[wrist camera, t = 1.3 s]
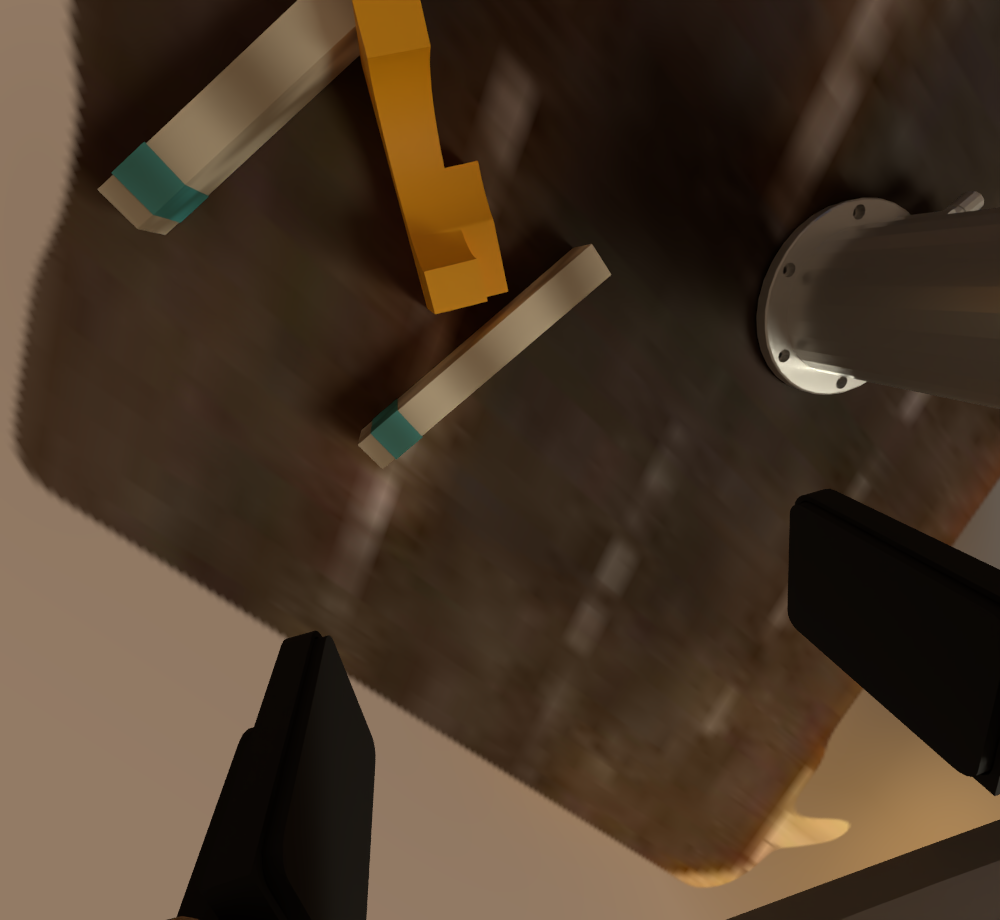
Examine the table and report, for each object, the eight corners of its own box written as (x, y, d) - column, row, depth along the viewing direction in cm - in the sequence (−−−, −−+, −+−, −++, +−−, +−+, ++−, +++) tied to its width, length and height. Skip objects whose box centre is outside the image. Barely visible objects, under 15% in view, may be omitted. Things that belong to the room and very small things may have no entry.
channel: (386, -41, 24) (384, -87, 21) (591, 276, 30) (612, 275, 28) (129, 199, 25) (94, 188, 22) (384, 453, 31) (383, 470, 29)
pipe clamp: (496, 290, 30) (522, 292, 24) (426, 308, 29) (435, 314, 23) (445, 50, 25) (460, -22, 19) (361, 66, 25) (351, -3, 19)
